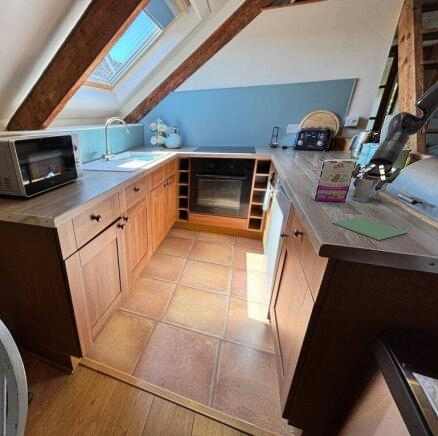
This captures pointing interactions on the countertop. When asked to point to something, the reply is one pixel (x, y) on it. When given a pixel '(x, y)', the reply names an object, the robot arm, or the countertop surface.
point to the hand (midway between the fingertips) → (365, 187)
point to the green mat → (370, 228)
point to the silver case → (365, 189)
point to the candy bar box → (333, 180)
